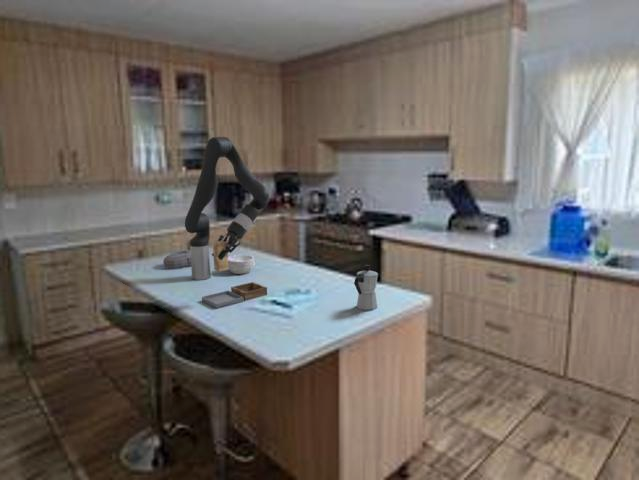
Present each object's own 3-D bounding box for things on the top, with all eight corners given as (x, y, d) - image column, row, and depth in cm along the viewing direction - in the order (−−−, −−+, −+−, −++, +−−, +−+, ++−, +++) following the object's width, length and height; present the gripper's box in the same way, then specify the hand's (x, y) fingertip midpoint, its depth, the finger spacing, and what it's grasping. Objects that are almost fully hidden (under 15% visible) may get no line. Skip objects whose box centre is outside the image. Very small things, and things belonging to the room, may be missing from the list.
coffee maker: (366, 300, 195) (366, 260, 191) (384, 305, 190) (384, 263, 186) (346, 310, 184) (346, 267, 180) (364, 315, 178) (364, 271, 175)
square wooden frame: (231, 294, 205) (231, 287, 205) (253, 289, 213) (252, 282, 212) (245, 300, 197) (244, 292, 196) (267, 294, 204) (266, 287, 204)
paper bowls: (252, 275, 236) (251, 260, 234) (223, 275, 236) (222, 261, 235) (257, 268, 251) (256, 254, 249) (229, 268, 251) (229, 254, 249)
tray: (202, 301, 197) (201, 296, 196) (228, 294, 205) (228, 290, 205) (216, 308, 187) (216, 304, 187) (243, 301, 196) (243, 297, 195)
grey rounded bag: (191, 260, 270) (159, 266, 257) (190, 246, 268) (157, 252, 255) (203, 265, 259) (170, 271, 246) (203, 250, 258) (169, 256, 244)
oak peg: (214, 269, 194) (212, 242, 191) (223, 267, 197) (221, 240, 194) (219, 271, 190) (217, 243, 188) (228, 269, 193) (227, 242, 191)
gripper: (225, 218, 199) (202, 249, 194) (243, 222, 189) (219, 255, 184) (236, 229, 204) (214, 259, 199) (254, 233, 193) (231, 265, 188)
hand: (216, 257), depth 191 cm, fingers closed on oak peg, 4 cm apart
